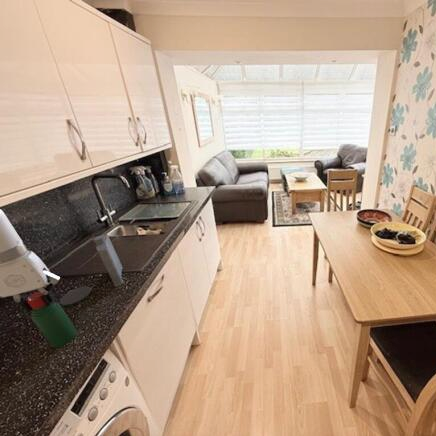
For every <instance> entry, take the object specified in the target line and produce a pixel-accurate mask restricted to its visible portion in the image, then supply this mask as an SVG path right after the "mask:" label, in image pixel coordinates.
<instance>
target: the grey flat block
mask: <svg viewBox="0 0 436 436" xmlns="http://www.w3.org/2000/svg"><path fill="white" fill-rule="evenodd" d="M92 240H93V242H94V243H95V248H96V250H97V253H98V255H99V257H100V260H101V261H102V263H103V265H104V267H105V269H106V271H107V273H108V275H109V277H110V279H111V281H112V283H113V285H114V287H116V288H118V287H121V286H122V285H124V284H125V283H124V279H123V277H122V272H123V265H122V263H121V260H120V259H119V256H118V254H117V252H116V250H115V248H114V245H113V244H112V241H111V239H110V236H109V235H108V234H107V233H106V234H105V233H104V234H102V235H97V236H95V237H93V238H92Z"/></svg>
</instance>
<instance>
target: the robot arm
mask: <svg viewBox="0 0 436 436" xmlns="http://www.w3.org/2000/svg"><path fill="white" fill-rule="evenodd" d="M48 280H49V282H48ZM60 280H61V277H60V276H58V275H56V274H54V273H52V272H51V271H50V270H49V268H48V267H47V265H46V264H45V263H44V262H43V260H42V259H41V258H40V257H39V256H38V255H37V254H36V253H35V252H33V250H29V249H28V248H27V246H26V245H25V243H24V242H23V240H22V238H21V237H20V235H19V234H18V233H17V230H16V229H15V227H14V226H13V225H12V223H11V222H10V220H9V218H8V217H7V215H6V213H5V212H4V211H3V210H2V209H1V208H0V299H1V298H2V299H9V300H11V301H14V302H15V303H19V304H20V305H21V306H22V308H23V309H25V311H26V312H27V313H30V312H32V311H33V309H32V308H31V307H30V306H29V304H28V303H27V301H26V299H27V297H28V296H30V295H31V294H29V293H28V292H32V291H35V290H37V291H38V292H39V291H40V292H41V293H42V294H43V295H42V298H43V300H44V301H45V303H46V304H47V306H51V305H52V304H53V302H55V301H56V296H55V294H54V293H53V291H52V290H51V289H52V288H53V287H54V286H55V285H56V284H57V283H58V282H59V281H60Z"/></svg>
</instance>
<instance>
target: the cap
mask: <svg viewBox="0 0 436 436" xmlns="http://www.w3.org/2000/svg"><path fill="white" fill-rule="evenodd" d="M29 295H30V296H28V297H27V299H26V301H27V303H28V304H29V306H30V307H31V308H32V310H33V309H37V308H40V307H42V306H44V305H46V303H45V301H44V300H43V298H42V295H43V294H42V293H41V292H40V291H39V290H38V291H36V292H33V293H32V294H29Z"/></svg>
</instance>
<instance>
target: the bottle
mask: <svg viewBox="0 0 436 436" xmlns="http://www.w3.org/2000/svg"><path fill="white" fill-rule="evenodd" d="M30 318H31V320H32V321H33V323H34V324H35V326H36V327H37V328H38V329H39V331H40V333H41V334H42V335H43V336H44V338H45V339H46V341H47V342H48V343H49V344H50V346H51V347H52V348H59V347H60V348H61V347H63V346H65V345H66V344H68V343H70V342H71V341H73V339H75V338H76V336H77V335H78V330H77V328H76V327H75V326H74V324H73V322H72V321H71V319H70V317H69V316H68V315H67V313H66V312H65V310H64V309H63V306H62V305H61V304H60V302H57V301H54V302H53V304H52V305H51V306H47V304H46V305H44V306H42V307H40V308H37V309H32V310H31V314H30Z"/></svg>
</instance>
